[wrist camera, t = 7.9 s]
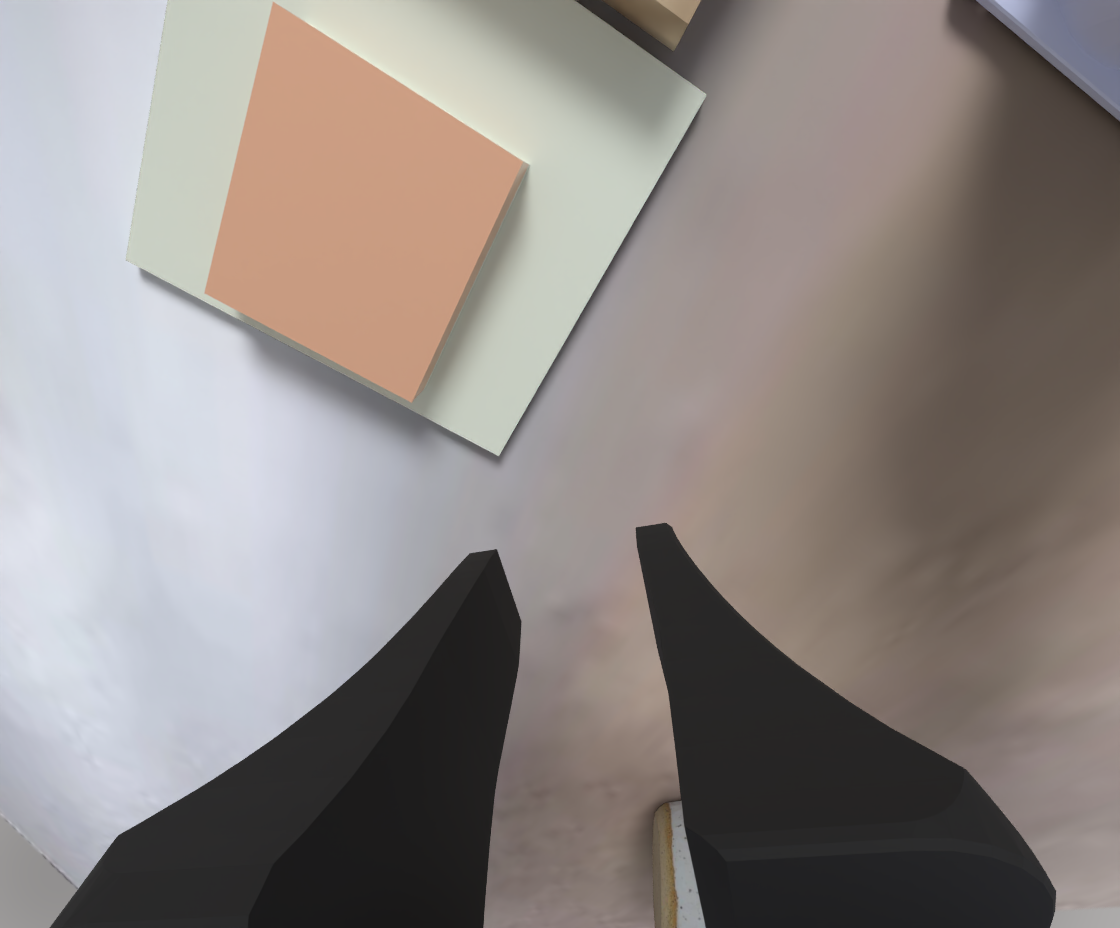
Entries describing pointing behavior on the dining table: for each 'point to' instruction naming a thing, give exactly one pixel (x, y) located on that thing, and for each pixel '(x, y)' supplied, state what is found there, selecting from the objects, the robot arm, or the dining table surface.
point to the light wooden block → (658, 17)
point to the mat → (480, 102)
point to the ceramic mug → (673, 872)
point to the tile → (356, 210)
